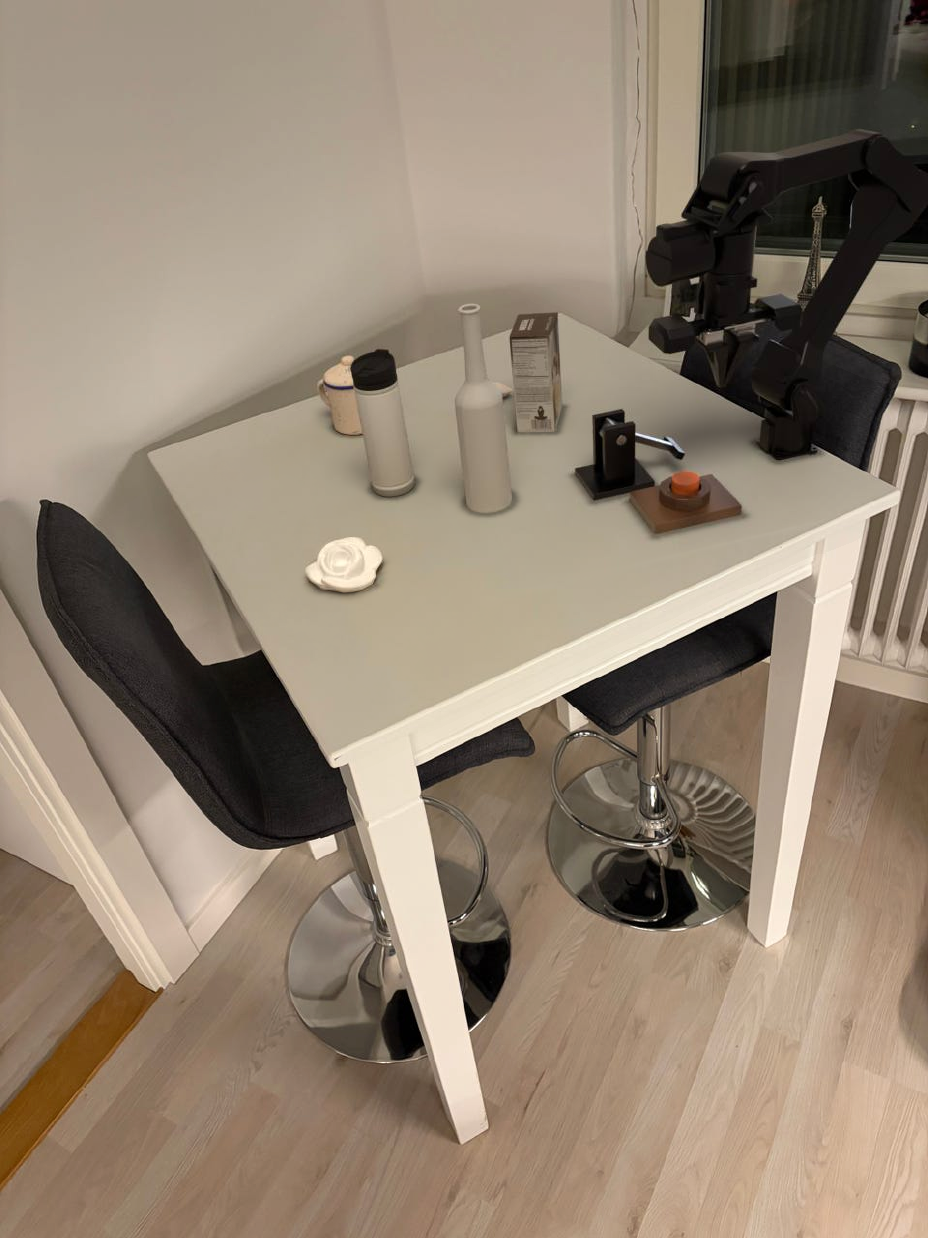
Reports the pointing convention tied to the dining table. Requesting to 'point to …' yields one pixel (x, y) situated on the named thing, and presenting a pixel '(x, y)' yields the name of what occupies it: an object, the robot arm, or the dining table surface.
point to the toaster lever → (651, 441)
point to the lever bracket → (613, 460)
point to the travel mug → (383, 422)
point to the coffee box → (536, 372)
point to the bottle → (481, 425)
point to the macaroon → (503, 389)
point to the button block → (684, 505)
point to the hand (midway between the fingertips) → (720, 385)
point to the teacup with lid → (341, 397)
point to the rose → (345, 565)
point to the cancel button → (685, 483)
